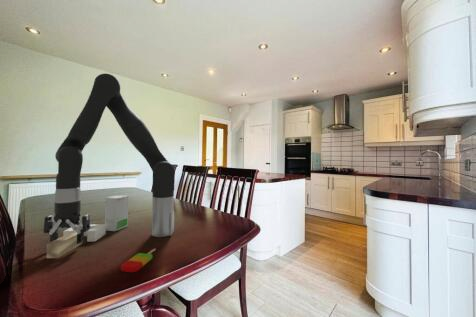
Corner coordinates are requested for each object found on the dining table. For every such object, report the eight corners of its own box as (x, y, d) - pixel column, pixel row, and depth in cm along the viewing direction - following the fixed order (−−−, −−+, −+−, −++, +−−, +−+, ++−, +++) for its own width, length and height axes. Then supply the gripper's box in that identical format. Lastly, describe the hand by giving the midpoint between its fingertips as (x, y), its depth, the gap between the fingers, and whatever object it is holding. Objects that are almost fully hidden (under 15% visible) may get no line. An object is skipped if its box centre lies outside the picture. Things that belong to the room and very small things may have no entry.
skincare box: (115, 231, 94) (116, 198, 94) (103, 230, 95) (104, 197, 95) (128, 226, 102) (129, 195, 102) (117, 224, 103) (118, 194, 104)
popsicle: (118, 272, 62) (118, 265, 62) (148, 250, 76) (148, 245, 76) (135, 274, 61) (135, 267, 61) (161, 252, 76) (161, 247, 76)
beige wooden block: (82, 243, 81) (82, 231, 81) (57, 258, 69) (57, 243, 69) (73, 244, 80) (73, 231, 80) (46, 258, 68) (47, 244, 68)
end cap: (105, 234, 91) (105, 224, 91) (95, 241, 83) (95, 230, 83) (76, 234, 89) (76, 224, 89) (63, 242, 81) (63, 231, 81)
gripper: (94, 197, 80) (93, 239, 80) (54, 198, 78) (53, 240, 78) (82, 201, 72) (81, 247, 72) (38, 202, 70) (37, 248, 70)
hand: (67, 243), depth 75 cm, fingers open, 8 cm apart
